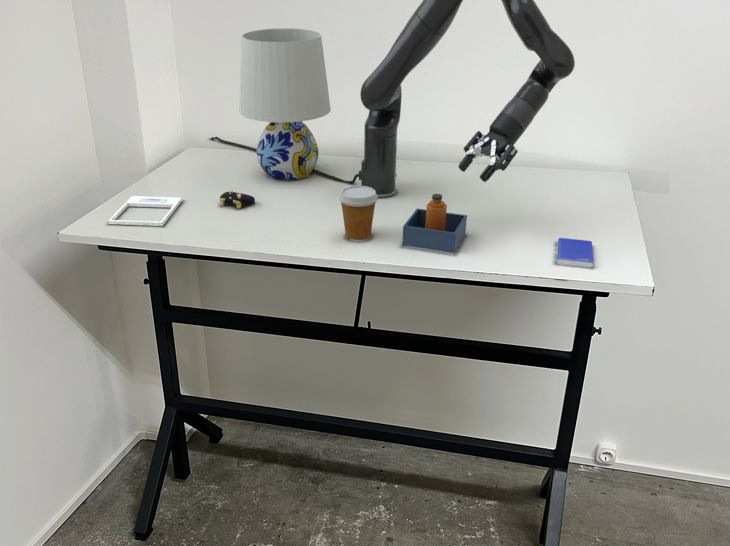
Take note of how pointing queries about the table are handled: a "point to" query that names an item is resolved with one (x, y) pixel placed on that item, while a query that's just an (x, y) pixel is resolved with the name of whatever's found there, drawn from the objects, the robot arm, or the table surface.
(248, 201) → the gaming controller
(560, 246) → the blue book
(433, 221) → the bottle
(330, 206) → the table surface
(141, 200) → the photo frame
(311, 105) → the table lamp
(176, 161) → the table surface
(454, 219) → the tote
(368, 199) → the disposable coffee cup
